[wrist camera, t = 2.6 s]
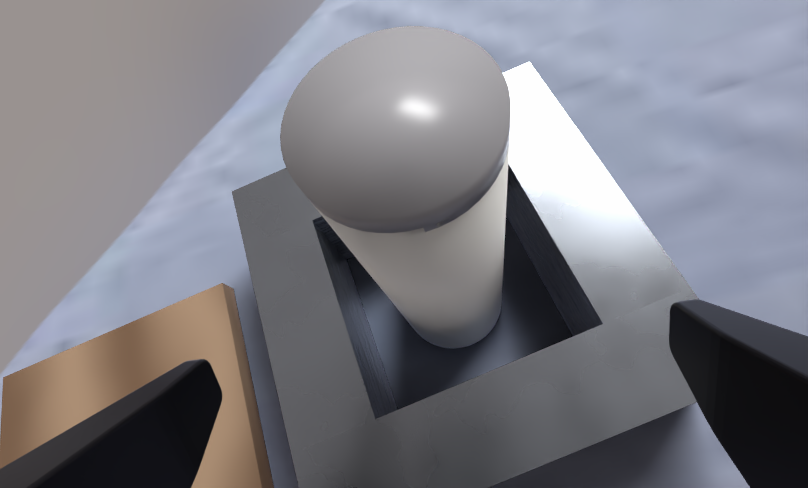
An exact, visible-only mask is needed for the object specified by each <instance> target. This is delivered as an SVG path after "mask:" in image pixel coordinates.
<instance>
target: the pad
mask: <svg viewBox="0 0 808 488" xmlns="http://www.w3.org/2000/svg"><path fill="white" fill-rule="evenodd" d="M198 359H205V360H207V361H208V362H209V363H210V364H211V366H212V369H213V371H214V373H215V375H216V378H217V380H218V382H219V385H220V387H221V390H222V403H221V406H220V409H219V412H218V415H217V418H216V421H215V424H214V427H213V430H212V432H211V435H210V438H209V441H208V444H207V447H206V450H205V453H204V456H203V459H202V462H201V465H200V467H199V470H198V473H197V475H196V478H195V480H194V482H193V485H192V487H191V488H274V485H273V480H272V476H271V471H270V466H269V461H268V456H267V451H266V446H265V441H264V436H263V431H262V427H261V422H260V417H259V412H258V407H257V402H256V397H255V392H254V387H253V382H252V377H251V373H250V368H249V363H248V358H247V353H246V348H245V343H244V338H243V333H242V328H241V323H240V319H239V314H238V309H237V304H236V299H235V294H234V289H233V288H231V287H229V286H227V285H225V284H223V283H221V284H219V285H217V286H214V287H212V288H210V289H207V290H205V291H203V292H201V293H198V294H196V295H194V296H191V297H189V298H187V299H184V300H182V301H180V302H177V303H175V304H173V305H170V306H168V307H166V308H163V309H161V310H159V311H156V312H154V313H152V314H150V315H147V316H145V317H143V318H140V319H138V320H136V321H133V322H131V323H129V324H126V325H124V326H122V327H119V328H117V329H115V330H112V331H110V332H108V333H105V334H103V335H101V336H99V337H96V338H94V339H92V340H89V341H87V342H85V343H82V344H80V345H78V346H75V347H73V348H71V349H68V350H66V351H64V352H61V353H59V354H57V355H54V356H52V357H50V358H47V359H45V360H43V361H41V362H38V363H36V364H34V365H31V366H29V367H27V368H24V369H22V370H20V371H17V372H15V373H13V374H10V375H8V376H6V377H3V394H2V415H1V436H0V469H1V468H2V467H4V466H6V465H8V464H9V463H11V462H13V461H15V460H16V459H18V458H20V457H21V456H23V455H25V454H27V453H28V452H30V451H32V450H34V449H35V448H37V447H39V446H40V445H42V444H44V443H46V442H47V441H49V440H51V439H52V438H54V437H56V436H58V435H59V434H61V433H63V432H65V431H66V430H68V429H70V428H71V427H73V426H75V425H77V424H78V423H80V422H82V421H83V420H85V419H87V418H89V417H90V416H92V415H94V414H96V413H97V412H99V411H101V410H102V409H104V408H106V407H108V406H109V405H111V404H113V403H114V402H116V401H118V400H120V399H121V398H123V397H125V396H127V395H128V394H130V393H132V392H133V391H135V390H137V389H139V388H140V387H142V386H144V385H145V384H147V383H149V382H151V381H152V380H154V379H156V378H158V377H159V376H161V375H163V374H164V373H166V372H168V371H170V370H171V369H173V368H175V367H176V366H178V365H180V364H182V363H183V362H185V361H189V360H198Z"/></svg>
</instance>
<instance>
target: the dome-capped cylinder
mask: <svg viewBox="0 0 808 488" xmlns="http://www.w3.org/2000/svg"><path fill="white" fill-rule="evenodd" d="M510 117H511V99H510V93H509V88H508V85H507V82H506V79H505V76H504V75H503V73H502V71H501V69H500V67H499V66H498V64H497V63H496V62H495V61H494V59H493V58H492V57H491V56H490V55H489V54H488V53H487V52H486V51H485V50H484V49H483V48H482V47H480V46H479V45H477V44H476V43H474V42H473V41H471V40H469V39H467V38H465V37H463V36H461V35H459V34H456V33H453V32H450V31H447V30H443V29H438V28H432V27H423V26H406V27H395V28H390V29H384V30H380V31H377V32H373V33H370V34H367V35H364V36H361V37H359V38H356V39H354V40H352V41H350V42H348V43H346V44H344V45H342V46H341V47H339V48H337V49H336V50H334V51H333V52H331V53H330V54H328V55H327V56H326V57H325V58H323V59H322V60H321V61H320V62H318V63H317V64H316V65H315V66H314V67H313V68H312V69H311V70H310V71H309V72H308V73H307V75H306V76H305V77H304V78H303V79H302V80H301V82H300V83H299V85H298V86H297V88H296V89H295V91H294V92H293V94H292V96H291V98H290V100H289V102H288V105H287V107H286V110H285V112H284V116H283V120H282V124H281V135H280V140H281V151H282V155H283V160H284V162H285V165H286V168H287V170H288V172H289V174H290V175H291V177H292V179H293V180H294V182H295V183H296V184H297V186H298V187H299V188H300V189H301V191H302V192H303V193H304V194H305V195H306V197H307V198H308V199H309V200H310V202H311V203H312V204H313V205H314V207H315V208H316V209H317V210H318V211H319V213H320V214H321V215H322V216H323V218H324V219H325V220H326V221H327V223H328V224H329V225H330V226H331V228H332V229H333V230H334V231H335V232H336V234H337V235H338V236H339V237H340V239H341V240H342V241H343V242H344V244H345V245H346V246H347V247H348V248H349V250H350V251H351V252H352V253H353V255H354V256H355V257H356V258H357V260H358V261H359V262H360V263H361V264H362V266H363V267H364V268H365V269H366V271H367V272H368V273H369V274H370V276H371V277H372V278H373V279H374V281H375V282H376V283H377V284H378V285H379V287H380V288H381V289H382V290H383V292H384V293H385V294H386V295H387V297H388V298H389V299H390V300H391V301H392V303H393V304H394V305H395V306H396V308H397V309H398V310H399V311H400V313H401V314H402V315H403V316H404V317H405V319H406V320H407V321H408V322H409V324H410V325H411V326H412V327H413V329H414V330H415V331H416V332H417V333H418V334H419V335H420V336H421V337H422V338H423V339H425V340H426V341H428V342H429V343H431V344H433V345H436V346H439V347H443V348H452V349H453V348H462V347H467V346H470V345H473V344H475V343H477V342H478V341H480V340H481V339H483V338H484V337H485V336H486V335H487V334H489V332H490V331H491V330H492V329H493V327H494V326H495V324H496V322H497V320H498V318H499V315H500V312H501V305H502V286H503V265H504V243H505V222H506V201H507V180H508V159H509V138H510Z"/></svg>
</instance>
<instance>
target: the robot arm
mask: <svg viewBox="0 0 808 488" xmlns="http://www.w3.org/2000/svg"><path fill="white" fill-rule="evenodd" d="M669 346H670V350H671V353H672V355H673V357H674V359H675V361H676V363H677V365H678V367H679V369H680V371H681V372H682V374H683V376H684V378H685V380H686V382H687V384H688V386H689V388H690V390H691V391H692V393H693V395H694V397H695V399H696V401H697V403H698V405H699V407H700V409H701V411H702V412H703V414H704V416H705V418H706V420H707V422H708V423H709V425H710V427H711V429H712V431H713V432H714V434H715V435H716V437H717V438H718V440H719V442H720V443H721V445H722V446H723V448H724V449H725V451H726V452H727V454H728V455H729V457H730V458H731V460H732V461H733V463H734V464H735V465H736V467H737V468H738V470H739V471H740V473H741V474H742V476H743V477H744V479H745V480H746V482H747V483H748V485H749V486H750V488H808V336H805V335H802V334H799V333H796V332H793V331H790V330H787V329H784V328H781V327H778V326H775V325H772V324H770V323H767V322H764V321H761V320H758V319H755V318H752V317H749V316H746V315H743V314H740V313H737V312H734V311H731V310H728V309H725V308H722V307H720V306H717V305H714V304H711V303H708V302H705V301H702V300H698V299H693V300H685V301H677V302H674V303H673V304H672V305H671V308H670V321H669ZM221 403H222V390H221V387H220V385H219V382H218V380H217V378H216V375H215V373H214V371H213V369H212V366H211V364H210V363H209V362H208V361H207V360H205V359H198V360H189V361H185V362H183V363H182V364H180V365H178V366H176V367H175V368H173V369H171V370H170V371H168V372H166V373H164V374H163V375H161V376H159V377H158V378H156V379H154V380H152V381H151V382H149V383H147V384H145V385H144V386H142V387H140V388H139V389H137V390H135V391H133V392H132V393H130V394H128V395H127V396H125V397H123V398H121V399H120V400H118V401H116V402H114V403H113V404H111V405H109V406H108V407H106V408H104V409H102V410H101V411H99V412H97V413H96V414H94V415H92V416H90V417H89V418H87V419H85V420H83V421H82V422H80V423H78V424H77V425H75V426H73V427H71V428H70V429H68V430H66V431H65V432H63V433H61V434H59V435H58V436H56V437H54V438H52V439H51V440H49V441H47V442H46V443H44V444H42V445H40V446H39V447H37V448H35V449H34V450H32V451H30V452H28V453H27V454H25V455H23V456H21V457H20V458H18V459H16V460H15V461H13V462H11V463H9V464H8V465H6V466H4V467H2V468H1V469H0V488H191V487H192V485H193V482H194V480H195V478H196V475H197V473H198V470H199V467H200V465H201V462H202V459H203V456H204V453H205V450H206V447H207V444H208V441H209V438H210V435H211V432H212V430H213V427H214V424H215V421H216V418H217V415H218V412H219V409H220V406H221Z"/></svg>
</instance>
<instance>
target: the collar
mask: <svg viewBox="0 0 808 488" xmlns="http://www.w3.org/2000/svg"><path fill="white" fill-rule="evenodd" d="M503 75H504V76H505V79H506V82H507V85H508V88H509V93H510V99H511V117H510V138H509V159H508V180H507V201H506V216H507V218H508V220H509V222H510V223H511V225H512V227H513V229H514V231H515V232H516V234H517V236H518V238H519V240H520V241H521V243H522V245H523V247H524V249H525V251H526V252H527V254H528V256H529V258H530V260H531V261H532V263H533V265H534V267H535V269H536V270H537V272H538V274H539V276H540V278H541V279H542V281H543V283H544V285H545V287H546V289H547V290H548V292H549V294H550V296H551V298H552V299H553V301H554V303H555V305H556V307H557V308H558V310H559V312H560V314H561V316H562V317H563V319H564V321H565V323H566V325H567V327H568V328H569V330H570V332H571V334H572V336H573V337H571V338H568V339H566V340H563V341H561V342H559V343H556V344H554V345H552V346H549V347H547V348H544V349H542V350H540V351H537V352H535V353H532V354H530V355H528V356H525V357H523V358H520V359H518V360H516V361H513V362H511V363H509V364H506V365H504V366H501V367H499V368H497V369H494V370H492V371H489V372H487V373H485V374H482V375H480V376H477V377H475V378H473V379H470V380H468V381H466V382H463V383H461V384H458V385H456V386H454V387H451V388H449V389H446V390H444V391H442V392H439V393H437V394H434V395H432V396H430V397H427V398H425V399H422V400H420V401H418V402H415V403H413V404H411V405H408V406H406V407H403V408H401V409H399V410H398V409H397V406H396V403H395V400H394V397H393V394H392V391H391V388H390V385H389V382H388V379H387V376H386V373H385V370H384V368H383V365H382V362H381V359H380V356H379V353H378V350H377V347H376V344H375V341H374V338H373V335H372V332H371V329H370V326H369V324H368V321H367V318H366V315H365V312H364V309H363V306H362V303H361V300H360V297H359V294H358V291H357V288H356V285H355V283H354V280H353V277H352V274H351V271H350V268H349V265H348V262H347V259H349V258H351V257H354V255H353V253H352V252H351V251H350V250H349V248H348V247H347V246H346V245H345V244H344V242H343V241H342V240H341V239H340V237H339V236H338V235H337V234H336V232H335V231H334V230H333V229H332V228H331V226H330V225H329V224H328V223H327V221H326V220H325V219H324V218H323V216H322V215H321V214H320V213H319V211H318V210H317V209H316V208H315V207H314V205H313V204H312V203H311V202H310V200H309V199H308V198H307V197H306V195H305V194H304V193H303V192H302V191H301V189H300V188H299V187H298V186H297V184H296V183H295V182H294V180H293V179H292V177H291V175H290V174H289V172H288V170H287V168H285V169H282V170H280V171H278V172H276V173H273V174H271V175H269V176H266V177H264V178H262V179H260V180H257V181H255V182H253V183H250V184H248V185H246V186H244V187H241V188H239V189H237V190H234V191H232V195H233V199H234V204H235V208H236V212H237V217H238V221H239V226H240V230H241V234H242V239H243V243H244V248H245V252H246V257H247V261H248V265H249V270H250V274H251V279H252V283H253V287H254V292H255V296H256V301H257V305H258V310H259V314H260V318H261V323H262V327H263V332H264V336H265V340H266V345H267V349H268V354H269V358H270V363H271V367H272V371H273V376H274V380H275V385H276V389H277V393H278V398H279V402H280V407H281V411H282V415H283V420H284V424H285V429H286V433H287V438H288V442H289V446H290V451H291V455H292V460H293V464H294V468H295V473H296V477H297V482H298V486H299V488H489V487H491V486H494V485H496V484H499V483H501V482H503V481H506V480H508V479H511V478H513V477H516V476H518V475H520V474H523V473H525V472H528V471H530V470H533V469H535V468H537V467H540V466H542V465H545V464H547V463H550V462H552V461H554V460H557V459H559V458H562V457H564V456H567V455H569V454H572V453H574V452H576V451H579V450H581V449H584V448H586V447H589V446H591V445H593V444H596V443H598V442H601V441H603V440H606V439H608V438H610V437H613V436H615V435H618V434H620V433H623V432H625V431H627V430H630V429H632V428H635V427H637V426H640V425H642V424H644V423H647V422H649V421H652V420H654V419H657V418H659V417H662V416H664V415H666V414H669V413H671V412H674V411H676V410H679V409H681V408H683V407H686V406H688V405H691V404H693V403H696V402H697V401H696V399H695V397H694V395H693V393H692V391H691V390H690V388H689V386H688V384H687V382H686V380H685V378H684V376H683V374H682V372H681V371H680V369H679V367H678V365H677V363H676V361H675V359H674V357H673V355H672V353H671V350H670V346H669V321H670V308H671V305H672V304H673V303H674V302H677V301H685V300H693V299H698V300H699V298H698V297H697V296H696V294H695V293H694V291H693V290H692V289H691V287H690V286H689V284H688V283H687V282H686V280H685V279H684V277H683V276H682V275H681V273H680V272H679V270H678V269H677V268H676V266H675V265H674V263H673V262H672V261H671V259H670V258H669V256H668V255H667V254H666V252H665V251H664V249H663V248H662V247H661V245H660V244H659V242H658V241H657V240H656V238H655V237H654V235H653V234H652V233H651V231H650V230H649V228H648V227H647V226H646V224H645V223H644V221H643V220H642V219H641V217H640V216H639V214H638V213H637V212H636V210H635V209H634V207H633V206H632V205H631V203H630V202H629V200H628V199H627V198H626V196H625V195H624V193H623V192H622V191H621V189H620V188H619V186H618V185H617V184H616V182H615V181H614V179H613V178H612V177H611V175H610V174H609V172H608V171H607V170H606V168H605V167H604V165H603V164H602V163H601V161H600V160H599V158H598V157H597V156H596V154H595V153H594V151H593V150H592V149H591V147H590V146H589V144H588V143H587V142H586V140H585V139H584V137H583V136H582V135H581V133H580V132H579V130H578V129H577V128H576V126H575V125H574V123H573V122H572V121H571V119H570V118H569V116H568V115H567V114H566V112H565V111H564V109H563V108H562V107H561V105H560V104H559V102H558V101H557V100H556V98H555V97H554V95H553V94H552V93H551V91H550V90H549V88H548V87H547V86H546V84H545V83H544V81H543V80H542V79H541V77H540V76H539V75H538V73H537V72H536V70H535V69H534V68H533V66H532V65H531V63H530V62H527V63H525V64H523V65H520V66H518V67H516V68H514V69H511V70H509V71H507V72H504V73H503Z"/></svg>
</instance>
